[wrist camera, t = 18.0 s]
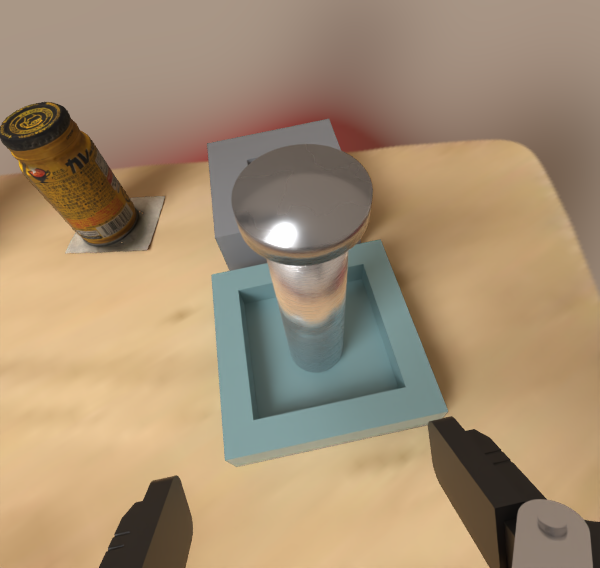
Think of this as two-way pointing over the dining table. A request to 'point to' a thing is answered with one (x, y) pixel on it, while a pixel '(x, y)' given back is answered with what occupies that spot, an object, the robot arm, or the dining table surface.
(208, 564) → the dining table surface
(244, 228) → the steel pin
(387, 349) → the tray
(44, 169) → the condiment
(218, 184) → the socket block
